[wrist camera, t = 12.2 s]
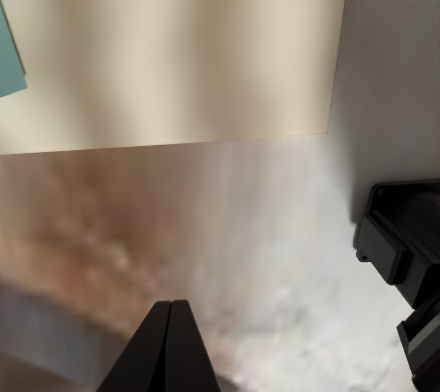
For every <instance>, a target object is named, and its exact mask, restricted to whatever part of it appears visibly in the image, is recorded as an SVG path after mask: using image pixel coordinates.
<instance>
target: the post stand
mask: <svg viewBox="0 0 440 392" xmlns="http://www.w3.org/2000/svg"><path fill="white" fill-rule="evenodd" d="M344 3H345V0H0V7H1V10H2V13H3V15H4V18H5V21H6V24H7V27H8V30H9V33H10V36H11V39H12V42H13V45H14V48H15V51H16V54H17V57H18V60H19V62H20V65H21V68H22V71H23V74H24V77H25V80H26V83H27V86H28V88H26V89H24V90H21V91H18V92H15V93H12V94H10V95H7V96H4V97H1V98H0V155H2V154H18V153H34V152H50V151H66V150H82V149H98V148H114V147H130V146H145V145H161V144H177V143H193V142H209V141H225V140H241V139H257V138H272V137H288V136H304V135H320V134H327V129H328V121H329V114H330V106H331V99H332V92H333V84H334V77H335V70H336V62H337V55H338V48H339V40H340V33H341V25H342V18H343V11H344Z"/></svg>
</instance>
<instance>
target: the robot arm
mask: <svg viewBox="0 0 440 392" xmlns="http://www.w3.org/2000/svg"><path fill="white" fill-rule="evenodd" d="M381 189H382V191H381V192H379V193H378V191H379V190H381ZM363 255H364V256H363ZM356 257H357V258H358V260H359V261H360V262H371V263H372V264H373V265H374V267H375V268H376V270H377V271H378V272H379V274H380V275H381V276H382V278H383V279H384V280H385V282H386V283H387V284H389V285H395V287H396V288H397V289H398V290H399V292H400V293H401V294H402V296H403V297H404V298H405V300H406V301H407V302H408V304H409V305H410V306H411V308H412V309H414V311H413V313H412V314H411V315H410V316H409V317H408V318H407V319H406V320H405V321H402V322H401V323H400V324H399V325H398V326H397V327H396V328H397V331H398V334H399V337H400V340H401V343H402V346H403V349H404V352H405V355H406V358H407V361H408V364H409V367H410V370H411V372H412V375H413V376H412V382H413V385H414V387H415V389H416V390H417V392H440V179H430V180H416V181H401V182H386V183H378V184H376V185H374V186H373V187H372V189H371V192H370V196H369V201H368V205H367V209H366V213H365V215H364V216H363V221H362V225H361V229H360V234H359V238H358V248H357V252H356ZM96 392H222V391H221V388H220V385H219V383H218V380H217V377H216V375H215V372H214V369H213V367H212V364H211V361H210V358H209V356H208V353H207V350H206V348H205V345H204V342H203V339H202V337H201V334H200V331H199V329H198V326H197V323H196V320H195V318H194V315H193V312H192V310H191V307H190V304H189V302H188V300H186V299H184V300H174V301H173V302H171V301H158V302H156V303H155V304H154V305H153V307H152V308H151V310H150V311H149V313H148V314H147V316H146V317H145V319H144V320H143V322H142V323H141V325H140V326H139V328H138V329H137V331H136V332H135V334H134V335H133V337H132V338H131V340H130V341H129V343H128V344H127V346H126V347H125V348H124V350H123V351H122V353H121V354H120V356H119V357H118V359H117V360H116V362H115V363H114V365H113V366H112V368H111V369H110V371H109V372H108V374H107V375H106V377H105V378H104V380H103V381H102V383H101V384H100V386H99V387H98V389H97V390H96Z"/></svg>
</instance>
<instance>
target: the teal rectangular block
mask: <svg viewBox="0 0 440 392" xmlns="http://www.w3.org/2000/svg"><path fill="white" fill-rule="evenodd" d="M26 88H28V86H27V83H26V80H25V77H24V74H23V71H22V68H21V65H20V62H19V60H18V57H17V54H16V51H15V48H14V45H13V42H12V39H11V36H10V33H9V30H8V27H7V24H6V21H5V18H4V15H3V13H2V10H1V7H0V98H1V97H4V96H7V95H10V94H12V93H15V92H18V91H21V90H24V89H26Z"/></svg>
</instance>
